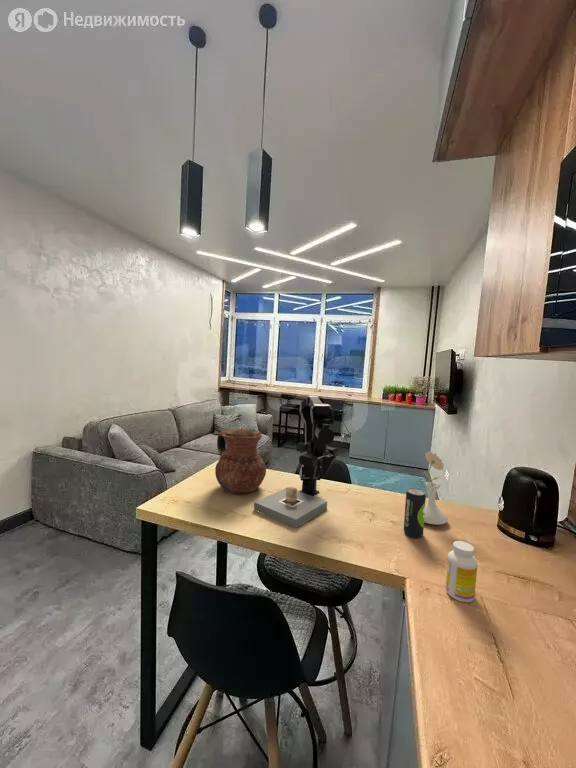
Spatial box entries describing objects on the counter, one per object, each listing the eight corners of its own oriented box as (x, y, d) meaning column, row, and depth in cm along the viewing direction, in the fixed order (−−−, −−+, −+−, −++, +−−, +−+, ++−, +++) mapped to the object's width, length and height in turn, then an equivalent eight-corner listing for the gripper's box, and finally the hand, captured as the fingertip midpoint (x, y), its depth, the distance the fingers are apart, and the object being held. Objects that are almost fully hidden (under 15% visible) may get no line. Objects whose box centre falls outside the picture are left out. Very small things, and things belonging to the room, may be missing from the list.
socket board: (286, 494, 144) (287, 487, 144) (326, 508, 132) (327, 500, 131) (253, 509, 128) (254, 501, 128) (295, 527, 116) (296, 519, 116)
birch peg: (289, 505, 133) (290, 486, 132) (298, 509, 130) (299, 489, 130) (282, 509, 130) (283, 489, 129) (291, 512, 127) (292, 492, 126)
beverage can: (399, 531, 116) (402, 489, 115) (412, 527, 119) (415, 486, 118) (414, 540, 111) (417, 496, 109) (427, 536, 114) (430, 493, 112)
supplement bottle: (480, 599, 84) (485, 550, 83) (461, 606, 81) (466, 555, 80) (457, 582, 90) (461, 536, 89) (439, 588, 88) (443, 541, 86)
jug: (265, 479, 160) (267, 427, 158) (265, 498, 139) (267, 438, 137) (218, 479, 158) (219, 426, 156) (211, 497, 138) (212, 437, 135)
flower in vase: (453, 528, 119) (458, 459, 117) (421, 527, 119) (426, 458, 117) (436, 511, 132) (441, 449, 130) (407, 510, 132) (412, 448, 130)
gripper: (316, 430, 140) (314, 466, 141) (287, 437, 125) (286, 478, 126) (339, 434, 133) (337, 473, 134) (312, 443, 118) (310, 486, 119)
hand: (318, 477), depth 129 cm, fingers open, 9 cm apart
